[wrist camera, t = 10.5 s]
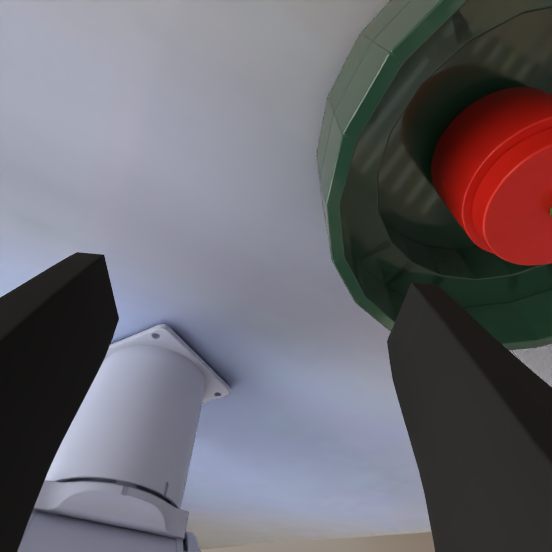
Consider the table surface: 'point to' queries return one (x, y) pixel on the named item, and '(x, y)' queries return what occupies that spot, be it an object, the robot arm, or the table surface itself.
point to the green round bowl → (428, 159)
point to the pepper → (501, 174)
